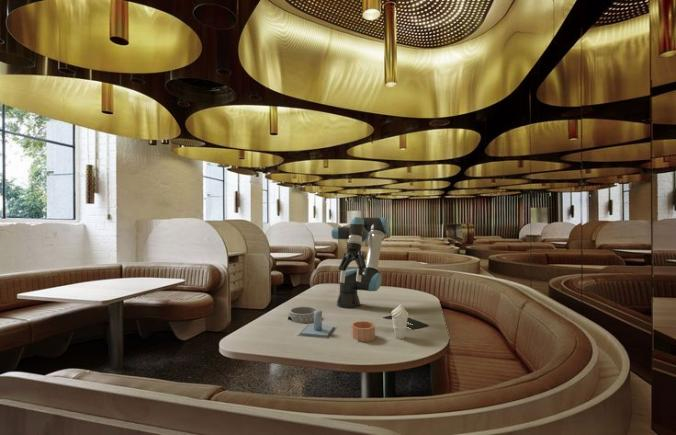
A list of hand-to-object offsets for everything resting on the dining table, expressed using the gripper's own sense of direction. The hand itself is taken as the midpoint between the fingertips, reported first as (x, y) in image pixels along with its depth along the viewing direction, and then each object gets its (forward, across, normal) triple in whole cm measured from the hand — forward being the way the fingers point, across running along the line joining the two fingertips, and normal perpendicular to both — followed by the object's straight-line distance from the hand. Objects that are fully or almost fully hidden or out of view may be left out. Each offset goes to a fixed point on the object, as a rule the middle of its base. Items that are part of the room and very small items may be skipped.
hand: (349, 282), depth 173 cm
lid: (+27, -5, -12) cm, 30 cm away
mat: (+28, -6, -12) cm, 31 cm away
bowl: (+27, +13, +2) cm, 30 cm away
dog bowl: (+22, -28, -7) cm, 36 cm away
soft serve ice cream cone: (+25, +24, +16) cm, 37 cm away
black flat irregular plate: (+16, +10, +33) cm, 38 cm away
